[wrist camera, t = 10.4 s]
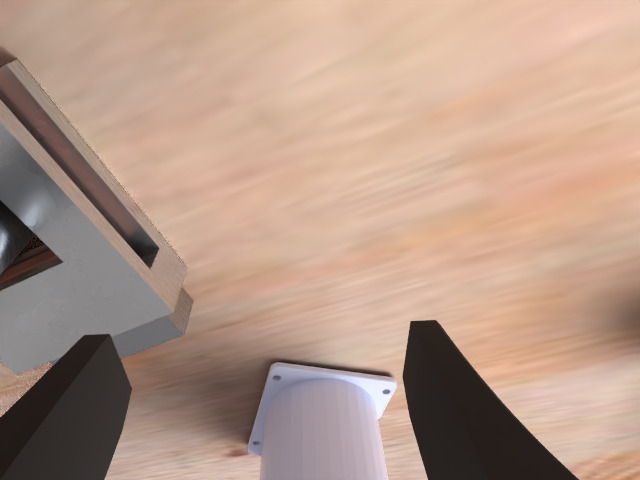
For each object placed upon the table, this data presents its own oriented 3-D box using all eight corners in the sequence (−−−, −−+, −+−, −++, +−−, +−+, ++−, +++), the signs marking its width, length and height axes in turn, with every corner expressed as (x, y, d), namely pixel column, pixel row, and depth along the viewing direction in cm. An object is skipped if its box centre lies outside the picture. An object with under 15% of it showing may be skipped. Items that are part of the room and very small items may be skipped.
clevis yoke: (209, 294, 23) (198, 340, 21) (74, 349, 25) (47, 397, 22) (17, 59, 16) (-36, 82, 14) (-151, 157, 18) (-227, 194, 15)
